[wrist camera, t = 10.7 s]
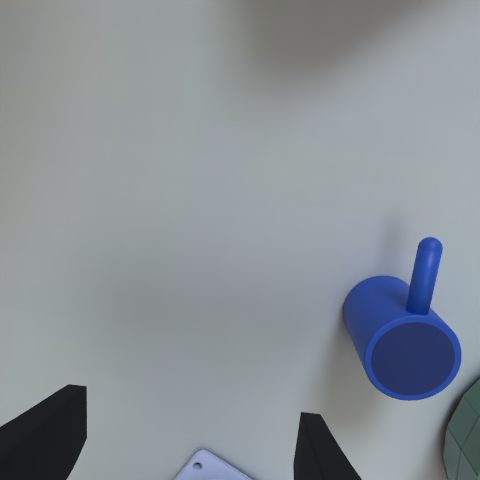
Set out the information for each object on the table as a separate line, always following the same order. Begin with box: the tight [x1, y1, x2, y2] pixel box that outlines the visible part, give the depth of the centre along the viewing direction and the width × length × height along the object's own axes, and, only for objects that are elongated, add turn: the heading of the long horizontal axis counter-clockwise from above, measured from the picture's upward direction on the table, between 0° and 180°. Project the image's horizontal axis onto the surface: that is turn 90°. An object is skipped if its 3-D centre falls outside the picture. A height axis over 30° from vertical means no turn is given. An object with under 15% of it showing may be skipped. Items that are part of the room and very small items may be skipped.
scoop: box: [343, 237, 461, 400], centre depth 19 cm, size 7×4×5 cm, turn 175°
